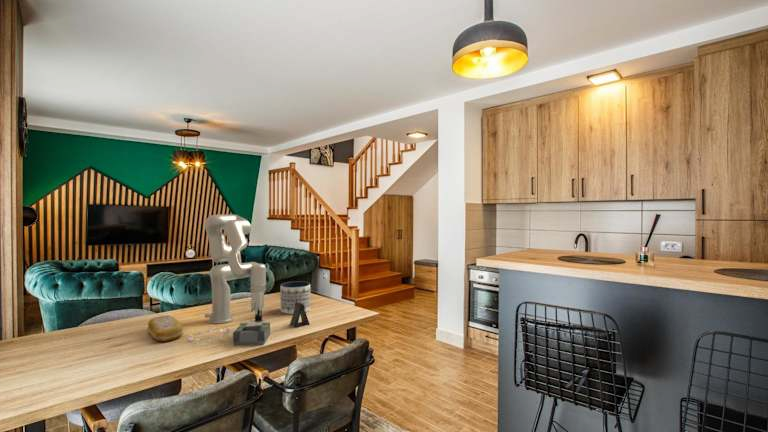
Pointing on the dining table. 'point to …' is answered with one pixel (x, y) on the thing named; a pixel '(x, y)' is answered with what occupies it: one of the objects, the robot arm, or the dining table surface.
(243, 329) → the block
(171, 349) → the dining table surface
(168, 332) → the bread
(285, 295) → the planter
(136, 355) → the dining table surface
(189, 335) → the game piece set
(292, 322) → the dark grey a-shaped piece
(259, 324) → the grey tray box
